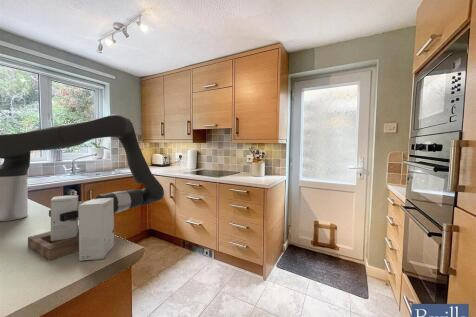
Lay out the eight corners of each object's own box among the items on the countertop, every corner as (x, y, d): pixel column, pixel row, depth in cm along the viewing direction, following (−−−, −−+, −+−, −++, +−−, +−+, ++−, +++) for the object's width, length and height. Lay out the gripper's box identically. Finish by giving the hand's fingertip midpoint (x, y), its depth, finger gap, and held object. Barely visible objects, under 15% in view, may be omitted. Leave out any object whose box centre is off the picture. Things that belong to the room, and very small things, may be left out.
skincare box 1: (50, 242, 58) (49, 199, 58) (53, 236, 62) (52, 196, 61) (77, 237, 62) (76, 197, 61) (79, 232, 65) (78, 194, 65)
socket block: (28, 247, 60) (27, 237, 60) (76, 233, 70) (76, 224, 70) (49, 260, 53) (49, 249, 53) (99, 242, 64) (99, 233, 64)
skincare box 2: (103, 259, 54) (103, 204, 54) (77, 261, 53) (76, 204, 52) (114, 245, 62) (115, 196, 62) (92, 246, 61) (92, 197, 61)
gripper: (101, 190, 77) (43, 199, 62) (125, 195, 70) (66, 206, 56) (102, 209, 78) (44, 223, 63) (125, 216, 71) (66, 234, 56)
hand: (54, 215), depth 59 cm, fingers closed on skincare box 1, 6 cm apart
